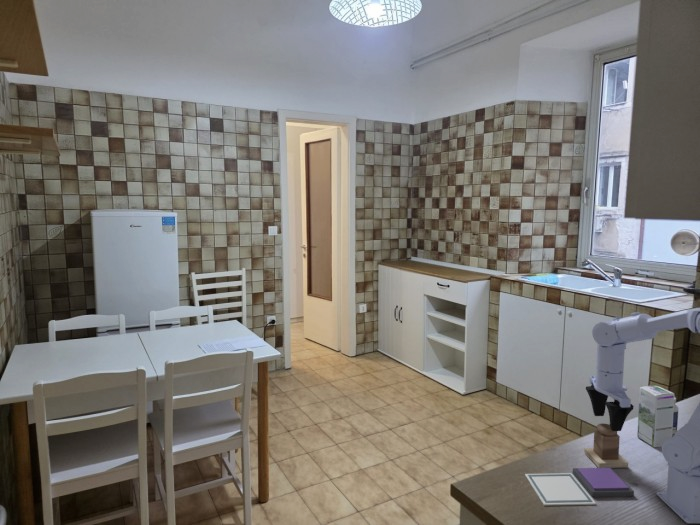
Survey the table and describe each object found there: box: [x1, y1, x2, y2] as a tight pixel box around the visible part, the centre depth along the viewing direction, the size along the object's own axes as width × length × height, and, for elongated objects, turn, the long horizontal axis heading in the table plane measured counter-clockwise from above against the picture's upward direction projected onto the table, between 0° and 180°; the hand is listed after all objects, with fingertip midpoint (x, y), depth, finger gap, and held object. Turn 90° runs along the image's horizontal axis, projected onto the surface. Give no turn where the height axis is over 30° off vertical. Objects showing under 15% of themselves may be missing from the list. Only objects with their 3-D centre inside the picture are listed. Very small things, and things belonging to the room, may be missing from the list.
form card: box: [524, 472, 597, 506], centre depth 102 cm, size 11×11×1 cm
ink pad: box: [572, 467, 635, 498], centre depth 104 cm, size 9×9×2 cm
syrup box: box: [636, 384, 676, 448], centre depth 120 cm, size 6×6×14 cm
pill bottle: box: [672, 396, 679, 435], centre depth 127 cm, size 5×5×10 cm
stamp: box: [583, 423, 629, 469], centre depth 113 cm, size 7×7×9 cm
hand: (607, 422), depth 112 cm, fingers open, 7 cm apart
